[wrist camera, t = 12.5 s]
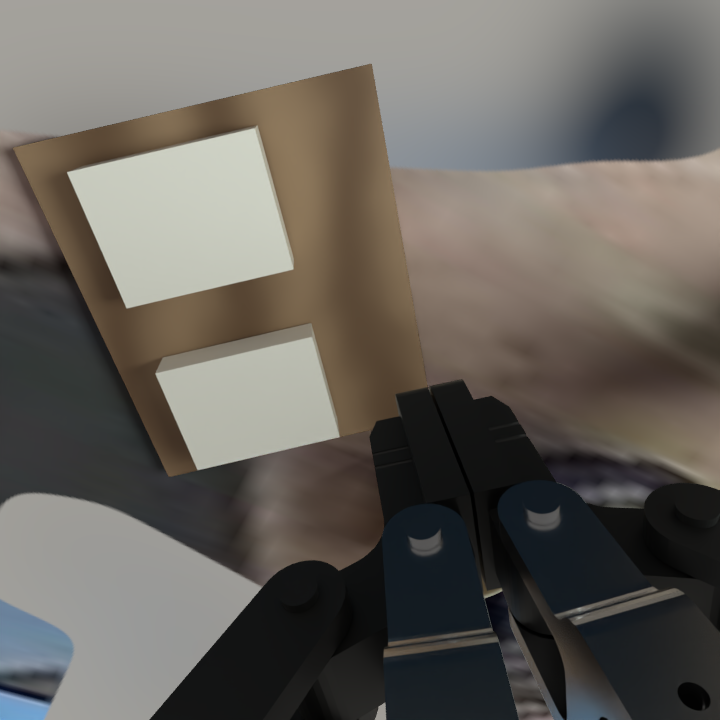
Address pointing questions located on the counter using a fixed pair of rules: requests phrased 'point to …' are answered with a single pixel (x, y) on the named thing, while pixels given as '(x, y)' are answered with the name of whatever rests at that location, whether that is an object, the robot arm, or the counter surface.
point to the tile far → (250, 396)
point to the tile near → (186, 216)
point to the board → (273, 292)
